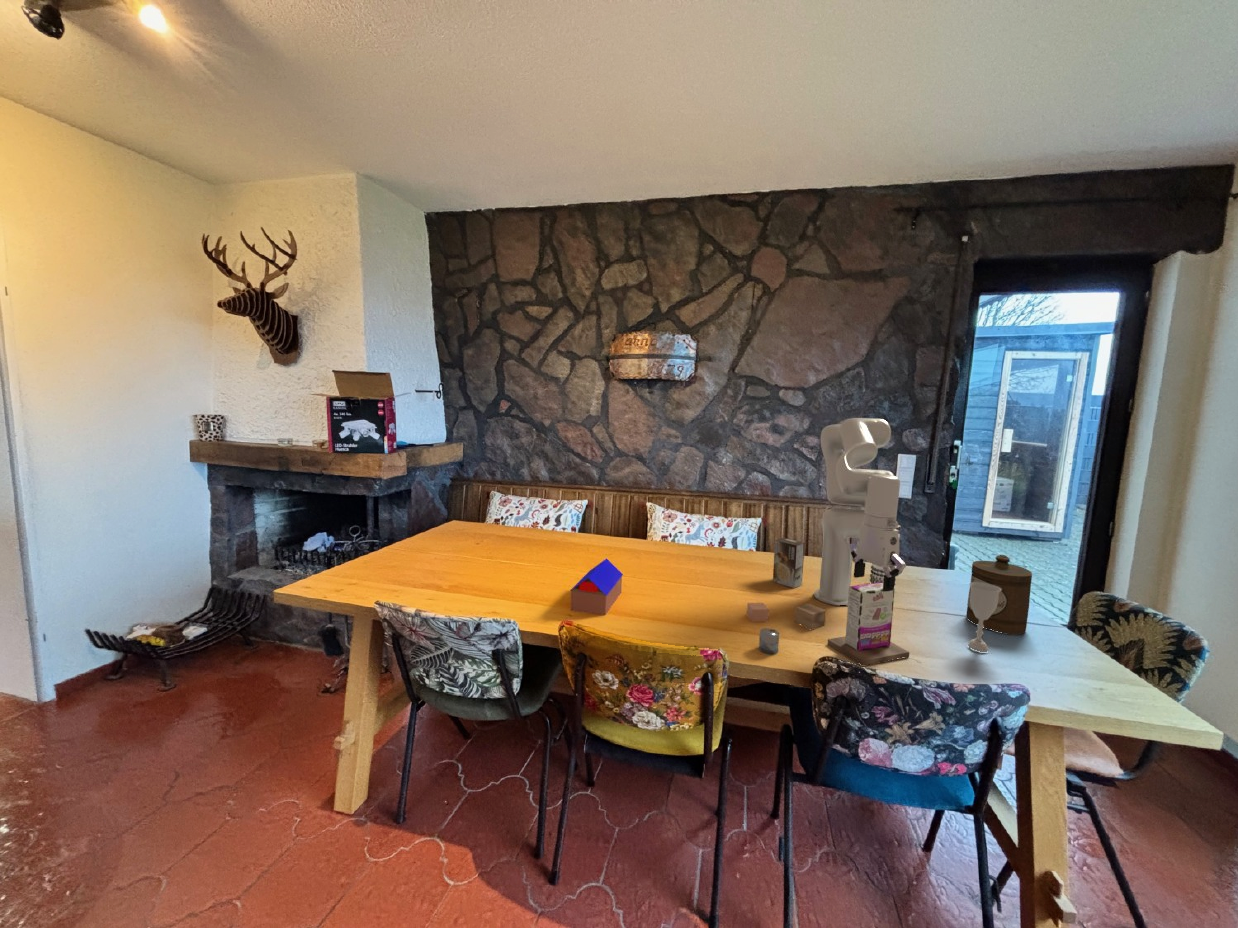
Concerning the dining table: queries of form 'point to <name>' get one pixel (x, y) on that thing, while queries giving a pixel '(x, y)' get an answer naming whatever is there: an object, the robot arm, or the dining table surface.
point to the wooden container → (1004, 594)
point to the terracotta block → (757, 612)
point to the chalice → (982, 609)
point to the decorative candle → (880, 569)
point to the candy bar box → (869, 617)
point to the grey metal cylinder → (769, 641)
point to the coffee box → (788, 562)
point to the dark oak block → (810, 616)
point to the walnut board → (868, 652)
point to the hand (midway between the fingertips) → (873, 583)
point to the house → (597, 589)
